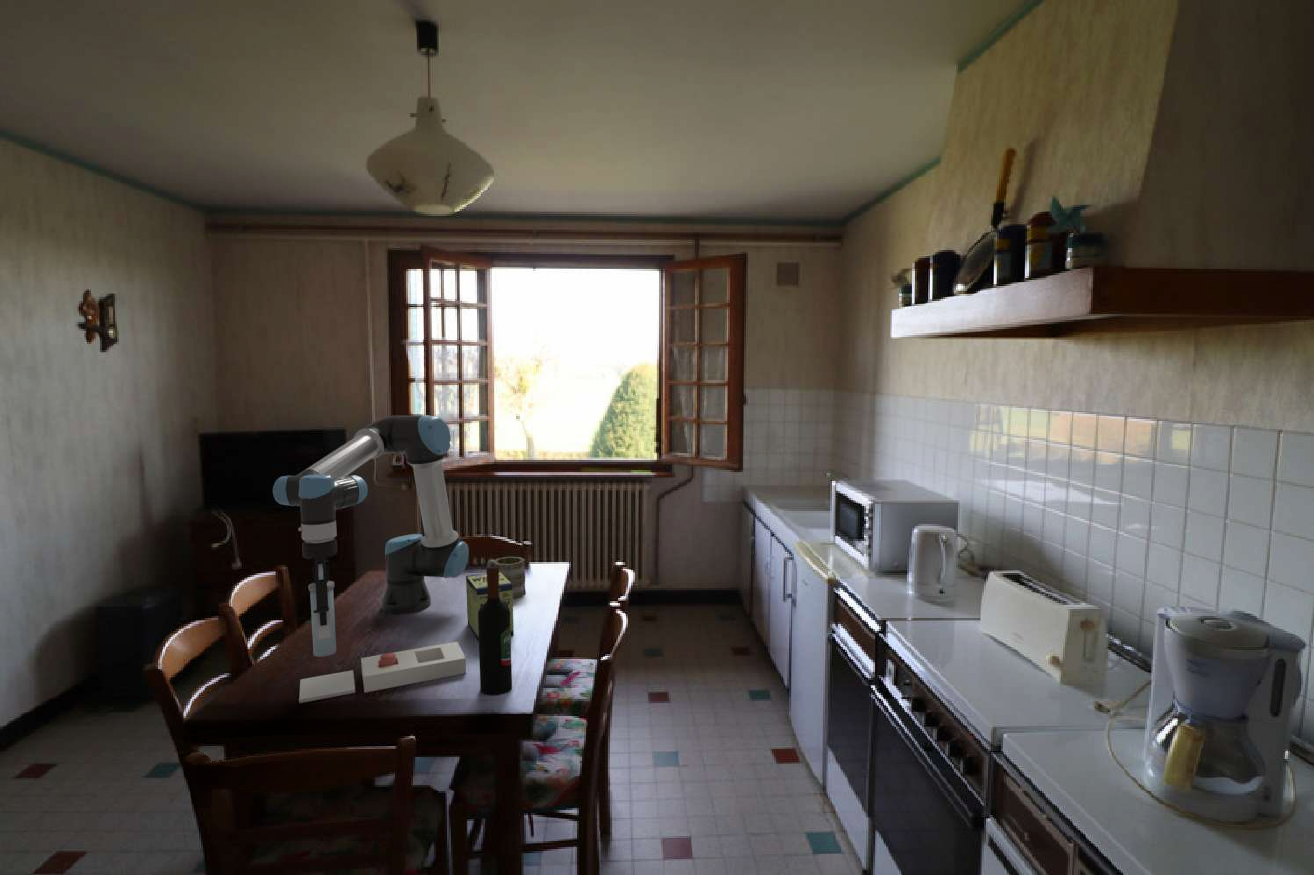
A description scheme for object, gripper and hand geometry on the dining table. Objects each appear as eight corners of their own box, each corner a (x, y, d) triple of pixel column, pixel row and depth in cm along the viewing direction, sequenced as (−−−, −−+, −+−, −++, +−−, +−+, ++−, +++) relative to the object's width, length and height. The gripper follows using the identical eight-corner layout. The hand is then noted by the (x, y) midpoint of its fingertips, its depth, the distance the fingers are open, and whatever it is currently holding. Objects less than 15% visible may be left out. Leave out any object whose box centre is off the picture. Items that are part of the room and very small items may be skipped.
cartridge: (312, 650, 170) (308, 582, 168) (337, 646, 172) (334, 579, 171) (311, 658, 165) (307, 589, 163) (337, 654, 167) (334, 585, 165)
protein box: (478, 642, 197) (477, 589, 196) (466, 624, 211) (465, 575, 209) (514, 635, 202) (513, 583, 200) (500, 619, 216) (499, 570, 214)
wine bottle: (483, 682, 172) (479, 563, 169) (513, 680, 172) (510, 562, 170) (477, 696, 164) (473, 572, 161) (510, 694, 165) (506, 571, 162)
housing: (361, 673, 177) (361, 658, 177) (457, 655, 188) (457, 641, 187) (364, 692, 167) (363, 676, 166) (466, 673, 177) (465, 657, 177)
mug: (532, 593, 241) (531, 559, 239) (510, 601, 232) (509, 566, 230) (499, 585, 249) (498, 553, 248) (477, 594, 240) (476, 560, 239)
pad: (300, 682, 172) (300, 679, 172) (353, 673, 177) (353, 670, 177) (299, 703, 162) (299, 699, 161) (355, 692, 167) (355, 689, 167)
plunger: (380, 671, 175) (379, 654, 175) (395, 668, 177) (394, 651, 176) (381, 677, 172) (380, 659, 172) (397, 674, 174) (396, 657, 173)
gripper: (302, 533, 172) (307, 624, 174) (300, 549, 156) (306, 649, 158) (335, 530, 176) (340, 619, 178) (337, 545, 159) (342, 643, 162)
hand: (324, 633), depth 168 cm, fingers closed on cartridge, 5 cm apart
